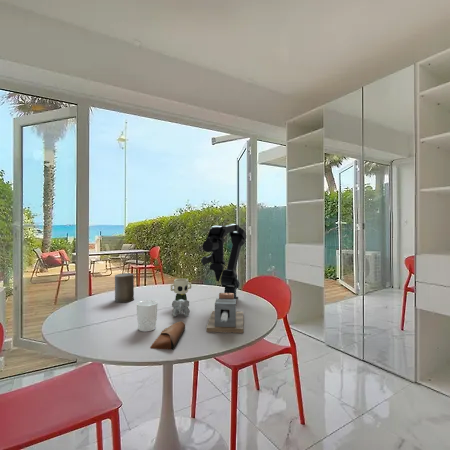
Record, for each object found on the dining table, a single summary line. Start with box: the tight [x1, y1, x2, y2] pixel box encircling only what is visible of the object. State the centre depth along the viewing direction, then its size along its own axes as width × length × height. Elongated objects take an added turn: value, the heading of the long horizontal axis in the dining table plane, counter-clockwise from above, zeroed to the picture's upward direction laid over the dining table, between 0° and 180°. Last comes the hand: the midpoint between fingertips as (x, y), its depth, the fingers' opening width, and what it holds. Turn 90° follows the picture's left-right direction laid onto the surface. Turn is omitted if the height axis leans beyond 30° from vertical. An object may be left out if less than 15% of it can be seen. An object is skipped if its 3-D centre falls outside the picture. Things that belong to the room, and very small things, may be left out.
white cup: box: [136, 299, 158, 332], centre depth 110 cm, size 8×8×10 cm
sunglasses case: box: [149, 320, 186, 351], centre depth 100 cm, size 18×7×7 cm
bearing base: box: [205, 298, 244, 334], centre depth 117 cm, size 21×14×10 cm, turn 176°
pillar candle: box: [114, 272, 135, 303], centre depth 150 cm, size 10×10×15 cm
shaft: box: [218, 292, 234, 323], centre depth 110 cm, size 17×6×10 cm, turn 176°
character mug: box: [170, 278, 192, 301], centre depth 140 cm, size 11×7×13 cm, turn 119°
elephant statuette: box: [171, 299, 191, 318], centre depth 124 cm, size 9×12×8 cm
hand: (217, 281), depth 142 cm, fingers closed
